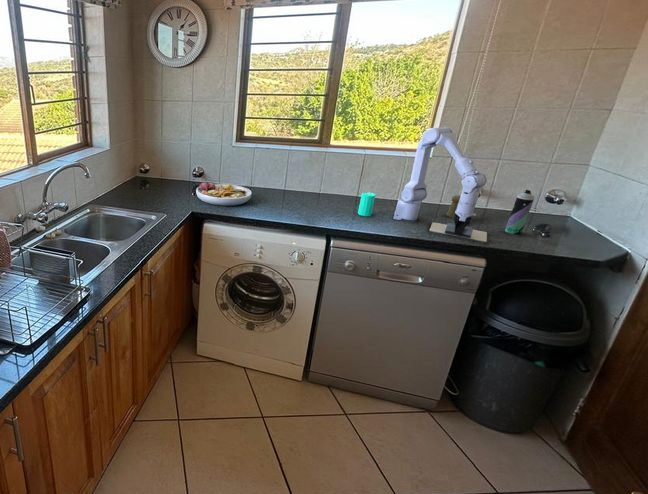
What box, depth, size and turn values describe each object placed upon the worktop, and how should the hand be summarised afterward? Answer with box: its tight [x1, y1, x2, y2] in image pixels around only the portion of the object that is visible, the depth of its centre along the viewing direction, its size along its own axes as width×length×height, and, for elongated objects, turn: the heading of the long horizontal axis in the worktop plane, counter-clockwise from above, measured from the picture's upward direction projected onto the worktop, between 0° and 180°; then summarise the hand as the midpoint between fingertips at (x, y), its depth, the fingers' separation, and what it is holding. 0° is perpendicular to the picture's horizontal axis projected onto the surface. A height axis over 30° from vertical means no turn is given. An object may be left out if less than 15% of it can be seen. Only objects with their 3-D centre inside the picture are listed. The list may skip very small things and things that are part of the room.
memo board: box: [429, 222, 488, 243], centre depth 177 cm, size 20×14×1 cm
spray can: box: [504, 189, 535, 235], centre depth 173 cm, size 6×6×20 cm
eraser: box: [445, 222, 474, 239], centre depth 172 cm, size 9×4×4 cm, turn 51°
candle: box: [357, 191, 377, 217], centre depth 198 cm, size 6×6×12 cm
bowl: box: [195, 181, 253, 207], centre depth 221 cm, size 30×30×8 cm
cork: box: [445, 194, 461, 218], centre depth 195 cm, size 6×6×11 cm
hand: (457, 232), depth 173 cm, fingers closed on eraser, 4 cm apart
